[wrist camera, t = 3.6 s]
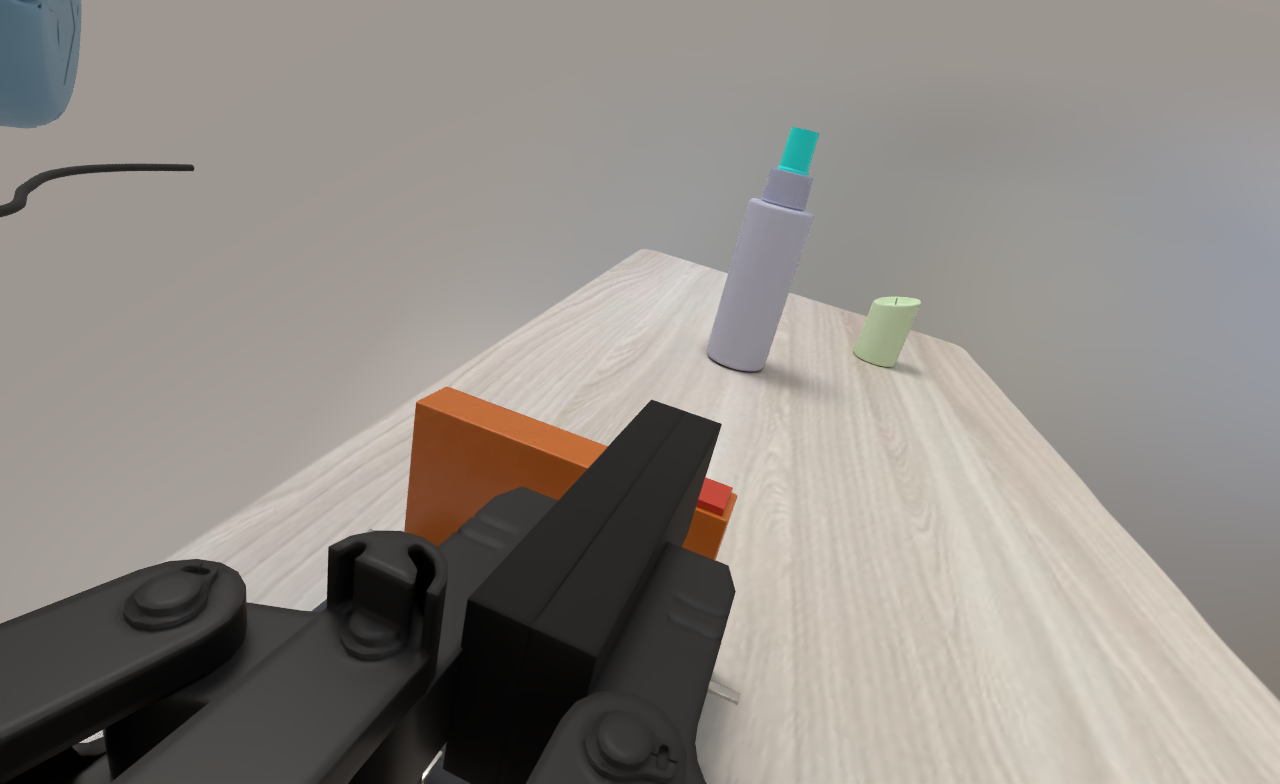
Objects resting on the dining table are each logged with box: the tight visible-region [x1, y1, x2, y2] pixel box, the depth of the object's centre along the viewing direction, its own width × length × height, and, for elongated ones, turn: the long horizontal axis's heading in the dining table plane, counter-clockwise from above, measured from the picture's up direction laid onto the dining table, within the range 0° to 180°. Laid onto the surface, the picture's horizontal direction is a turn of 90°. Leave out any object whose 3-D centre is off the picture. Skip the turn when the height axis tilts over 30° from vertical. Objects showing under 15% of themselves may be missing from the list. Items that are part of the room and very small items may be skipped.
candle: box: [854, 297, 921, 367], centre depth 73 cm, size 5×5×8 cm
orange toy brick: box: [404, 387, 737, 560], centre depth 19 cm, size 10×2×7 cm, turn 71°
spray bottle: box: [707, 127, 819, 371], centre depth 57 cm, size 6×6×22 cm
